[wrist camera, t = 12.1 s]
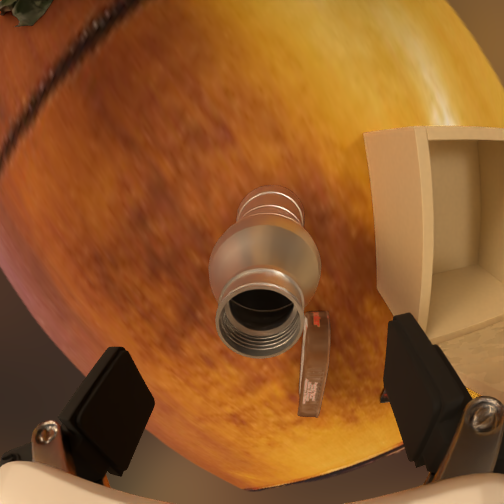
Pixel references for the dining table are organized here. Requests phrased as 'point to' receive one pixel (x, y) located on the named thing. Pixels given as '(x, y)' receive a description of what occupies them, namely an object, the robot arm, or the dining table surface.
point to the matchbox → (384, 398)
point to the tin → (314, 362)
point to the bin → (439, 225)
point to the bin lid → (479, 360)
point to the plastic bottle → (264, 274)
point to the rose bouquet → (25, 10)
